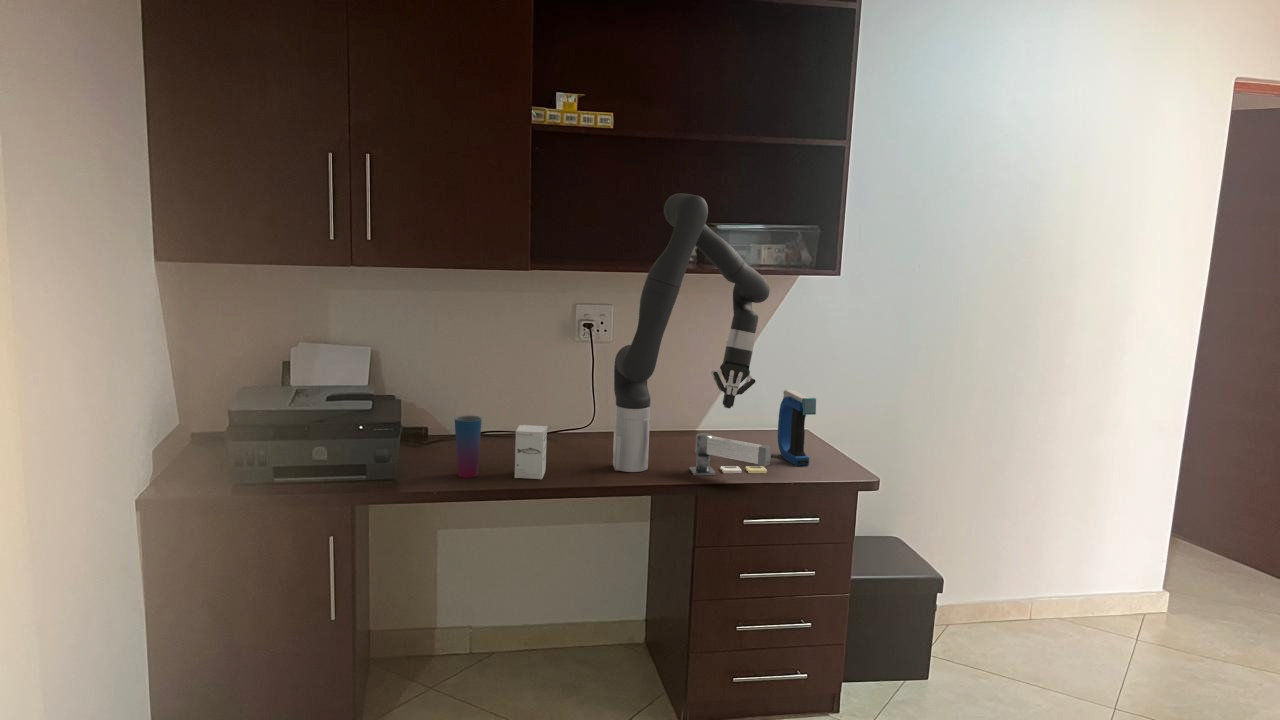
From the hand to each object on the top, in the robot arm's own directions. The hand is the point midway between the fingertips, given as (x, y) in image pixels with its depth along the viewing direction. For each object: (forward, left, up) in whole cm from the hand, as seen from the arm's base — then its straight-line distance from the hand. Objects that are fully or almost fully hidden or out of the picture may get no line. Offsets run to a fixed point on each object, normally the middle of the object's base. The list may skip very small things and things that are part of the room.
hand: (727, 407), depth 262 cm
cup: (-71, -16, -15) cm, 74 cm away
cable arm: (-2, -18, -10) cm, 20 cm away
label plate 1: (-1, -12, -15) cm, 19 cm away
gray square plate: (-9, -13, -15) cm, 21 cm away
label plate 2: (+6, -12, -15) cm, 20 cm away
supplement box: (-55, -16, -15) cm, 59 cm away
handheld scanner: (+20, -1, -15) cm, 25 cm away
